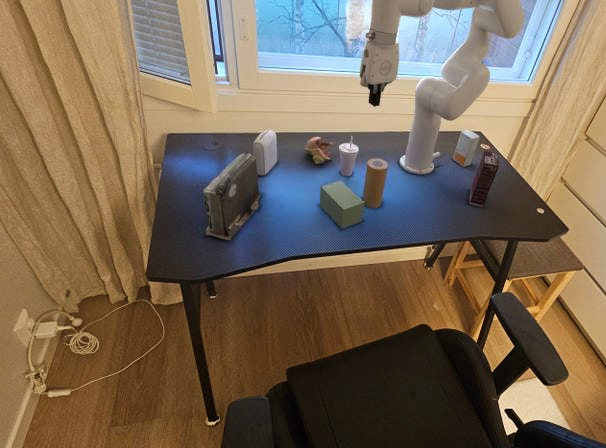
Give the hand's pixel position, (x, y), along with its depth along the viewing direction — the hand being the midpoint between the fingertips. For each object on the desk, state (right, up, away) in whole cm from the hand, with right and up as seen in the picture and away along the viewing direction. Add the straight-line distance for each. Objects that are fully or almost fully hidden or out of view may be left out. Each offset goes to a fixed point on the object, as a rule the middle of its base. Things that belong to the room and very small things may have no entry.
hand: (373, 104), depth 113 cm
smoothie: (-10, -17, +20) cm, 28 cm away
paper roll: (-4, -28, +7) cm, 29 cm away
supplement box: (+34, -26, +20) cm, 47 cm away
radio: (-39, -31, -3) cm, 50 cm away
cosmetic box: (+32, -11, +37) cm, 50 cm away
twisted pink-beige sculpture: (-20, -12, +24) cm, 34 cm away
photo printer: (-35, -16, +16) cm, 42 cm away
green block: (-10, -31, +3) cm, 33 cm away
